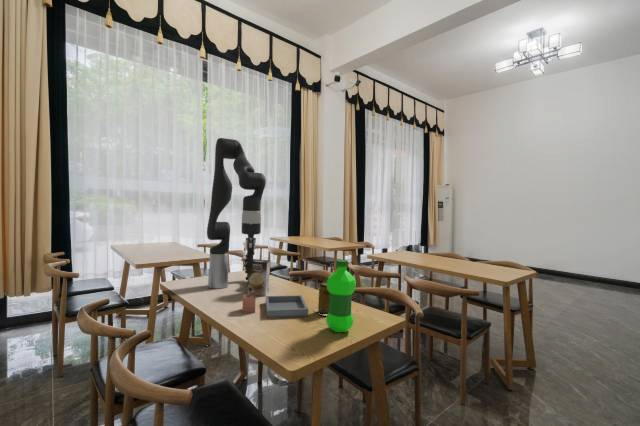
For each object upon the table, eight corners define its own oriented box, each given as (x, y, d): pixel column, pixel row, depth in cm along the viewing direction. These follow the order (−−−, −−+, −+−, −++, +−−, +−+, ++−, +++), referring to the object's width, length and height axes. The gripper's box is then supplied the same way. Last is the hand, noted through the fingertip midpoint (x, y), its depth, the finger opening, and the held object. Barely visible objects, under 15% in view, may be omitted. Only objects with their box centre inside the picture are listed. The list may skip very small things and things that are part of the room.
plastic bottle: (359, 330, 110) (362, 261, 109) (340, 339, 103) (343, 264, 102) (338, 322, 117) (341, 256, 117) (319, 329, 110) (321, 259, 109)
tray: (267, 318, 119) (267, 310, 119) (265, 302, 136) (265, 296, 136) (308, 316, 122) (308, 309, 122) (301, 301, 140) (301, 295, 140)
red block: (242, 313, 123) (242, 298, 123) (242, 308, 128) (243, 294, 128) (255, 312, 124) (255, 298, 124) (255, 308, 129) (255, 294, 129)
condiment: (329, 308, 132) (330, 281, 132) (338, 315, 124) (340, 286, 124) (313, 310, 129) (314, 282, 128) (322, 318, 121) (323, 287, 121)
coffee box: (246, 294, 147) (247, 261, 146) (251, 291, 153) (252, 258, 152) (265, 296, 146) (266, 262, 145) (269, 292, 152) (270, 259, 152)
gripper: (242, 220, 131) (241, 261, 131) (241, 223, 117) (239, 268, 118) (260, 220, 132) (259, 261, 133) (261, 223, 119) (259, 268, 119)
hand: (250, 264), depth 125 cm, fingers closed
